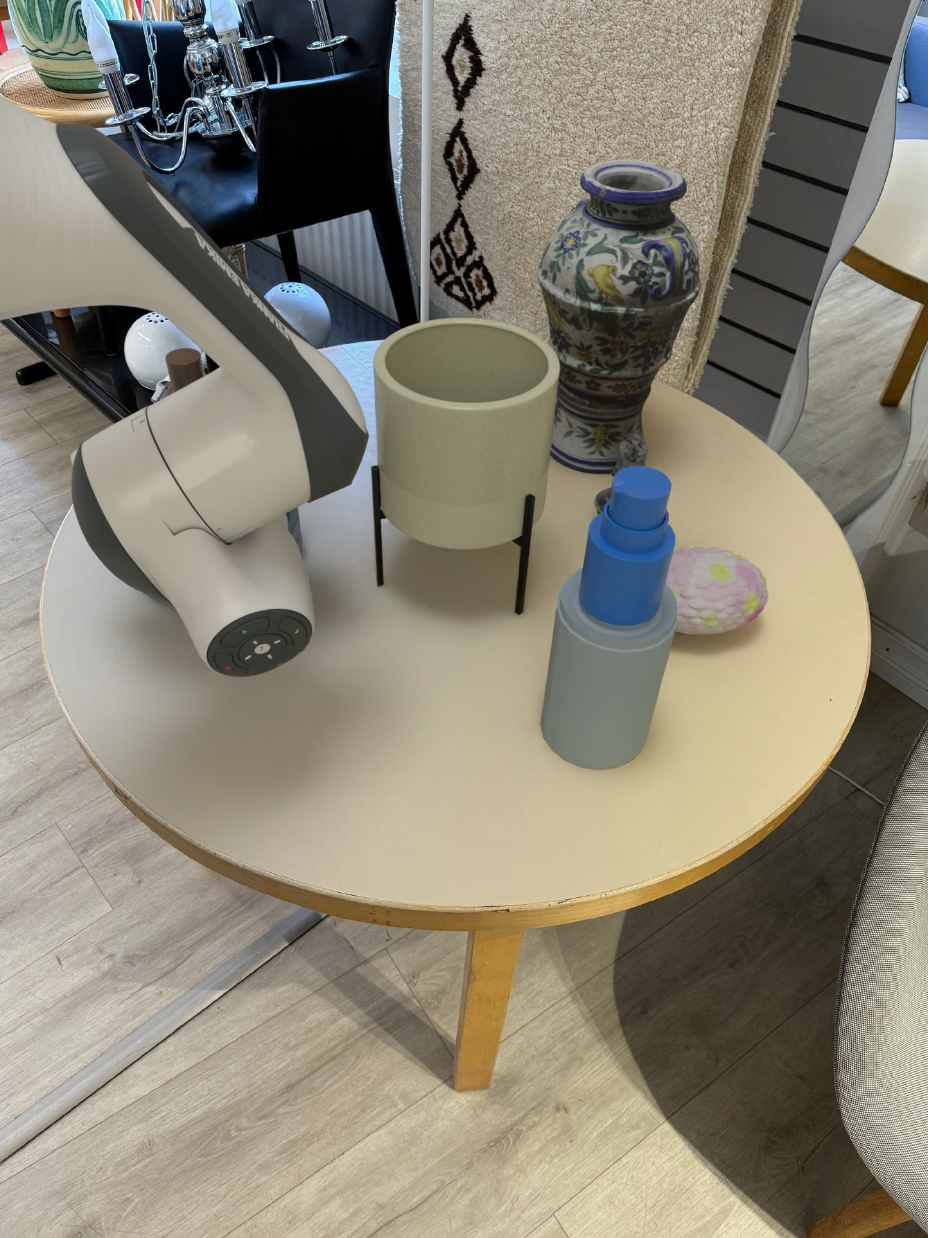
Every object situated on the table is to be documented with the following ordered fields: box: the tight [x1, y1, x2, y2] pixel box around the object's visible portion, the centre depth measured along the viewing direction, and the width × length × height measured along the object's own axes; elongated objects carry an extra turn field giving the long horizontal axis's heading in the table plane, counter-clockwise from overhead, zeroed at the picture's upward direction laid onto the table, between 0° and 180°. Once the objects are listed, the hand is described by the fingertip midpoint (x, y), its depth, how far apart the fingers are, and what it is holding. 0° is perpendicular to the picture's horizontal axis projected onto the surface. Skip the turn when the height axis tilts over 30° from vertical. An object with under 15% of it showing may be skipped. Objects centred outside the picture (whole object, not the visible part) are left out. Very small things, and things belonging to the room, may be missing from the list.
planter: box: [370, 317, 560, 616], centre depth 82 cm, size 15×16×23 cm
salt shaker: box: [593, 433, 649, 515], centre depth 91 cm, size 6×6×12 cm
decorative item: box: [666, 546, 769, 636], centre depth 83 cm, size 9×11×10 cm
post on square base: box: [165, 347, 206, 394], centre depth 78 cm, size 5×5×14 cm
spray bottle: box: [539, 465, 677, 770], centre depth 67 cm, size 9×9×25 cm
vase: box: [536, 159, 702, 475], centre depth 96 cm, size 17×17×30 cm
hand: (194, 414), depth 78 cm, fingers closed on post on square base, 3 cm apart
